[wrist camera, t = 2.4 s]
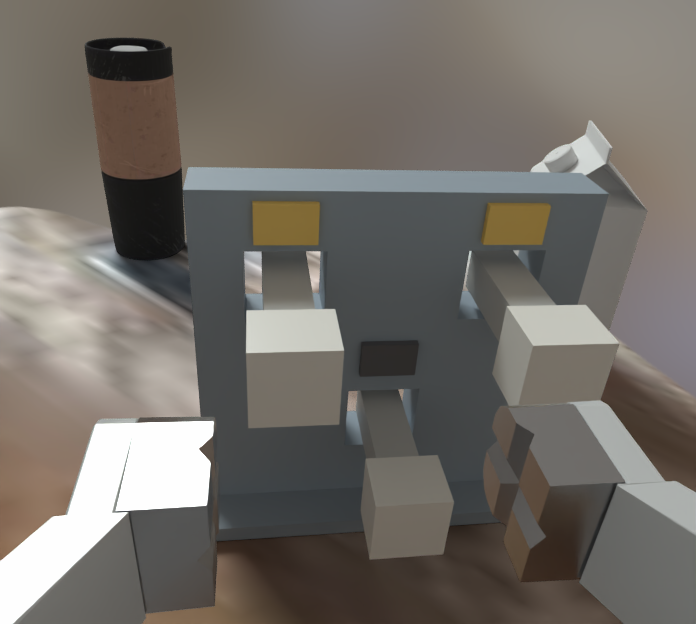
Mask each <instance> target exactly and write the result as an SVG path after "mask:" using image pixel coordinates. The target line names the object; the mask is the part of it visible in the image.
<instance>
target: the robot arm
mask: <svg viewBox="0 0 696 624" xmlns="http://www.w3.org/2000/svg"><path fill="white" fill-rule="evenodd" d="M492 429H493V431H494V433H495V435H496V438H497V441H496V442H495V443H494V444H493V445H492V446H491V447H490V448H489V449H488V450H487V451H486V456H485V461H484V467H483V478H484V490H485V494H486V498H487V502H488V505H489V507H490V510H491V512H492V515H493V516H494V517H495V518H496V519H498V520H499V521H500V522H502V523H503V524H504V525H506V526H507V529H506V533H505V536H504V540H503V542H504V545H505V547H506V550H507V552H508V554H509V557H510V559H511V562H512V564H513V566H514V569H515V571H516V574H517V576H518V578H519V581H520V582H538V581H558V580H578V579H580V582H579V583H580V584H581V585H582V586H584V587H585V588H586V589H587V590H588V591H589V592H590V593H591V594H592V595H593V596H594V597H595V598H596V599H598V600H599V601H600V602H601V603H602V604H603V605H604V606H605V607H606V608H607V609H608V610H609V611H610V612H612V613H613V614H614V615H615V616H616V617H617V618H618V619H619V620H620V621H621V622H622V623H623V624H696V492H694V491H692V490H691V489H689V488H687V487H685V486H684V485H682V484H680V483H678V482H677V481H665V480H664V479H663V477H662V476H661V475H660V473H659V472H658V471H657V469H656V468H655V467H654V465H653V464H652V463H651V461H650V460H649V459H648V457H647V456H646V455H645V453H644V452H643V451H642V449H641V448H640V447H639V445H638V444H637V443H636V441H635V440H634V439H633V437H632V436H631V435H630V433H629V432H628V431H627V429H626V428H625V427H624V425H623V424H622V423H621V421H620V420H619V419H618V417H617V416H616V415H615V413H614V412H613V411H612V409H611V408H610V406H609V405H607V404H606V403H604V402H602V401H601V400H598V401H581V402H567V403H566V404H565V403H557V404H534V405H512V406H500V407H499V409H498V410H497V412H496V414H495V417H494V421H493V425H492ZM216 457H217V428H216V419H215V417H152V418H139V419H136V418H127V419H99V421H98V422H97V423H96V424H95V425H94V427H93V429H92V433H91V436H90V439H89V442H88V445H87V448H86V452H85V455H84V458H83V461H82V464H81V467H80V471H79V474H78V477H77V480H76V483H75V486H74V490H73V493H72V496H71V499H70V502H69V505H68V509H67V512H66V515H65V516H53V517H51V518H50V519H49V520H48V521H47V522H46V523H44V524H43V525H42V526H41V527H40V528H39V529H37V530H36V531H35V532H34V533H33V534H32V535H30V536H29V537H28V538H27V539H26V540H25V541H23V542H22V543H21V544H20V545H19V546H18V547H16V548H15V549H14V550H13V551H12V552H11V553H9V554H8V555H7V556H6V557H5V558H4V559H2V560H1V561H0V624H142V623H143V621H144V620H145V618H146V615H145V614H146V613H155V612H165V611H174V610H184V609H193V608H203V607H212V606H215V593H216V576H217V545H216V536H217V534H218V533H219V519H220V475H219V463H218V462H217V461H216Z"/></svg>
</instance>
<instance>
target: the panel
mask: <svg viewBox="0 0 696 624" xmlns="http://www.w3.org/2000/svg"><path fill="white" fill-rule="evenodd" d="M183 195H184V196H183V197H184V208H185V222H186V235H187V247H188V260H189V273H190V286H191V298H192V311H193V324H194V336H195V349H196V362H197V375H198V387H199V400H200V413H201V417H215V419H216V428H217V457H216V461H217V462H218V463H219V475H220V519H219V533H218V534H217V536H216V541H227V540H243V539H258V538H273V537H288V536H303V535H318V534H333V533H348V532H363V531H364V526H363V521H362V516H361V500H362V490H363V480H364V470H365V460H366V456H365V451H364V446H363V442H362V437H361V432H360V428H359V423H358V418H357V414H356V411H347V403H348V391H363V390H392V389H404V393H403V401H402V403H403V407H404V410H405V413H406V416H407V419H408V423H409V426H410V429H411V432H412V435H413V438H414V442H415V445H416V448H417V451H418V454H419V456H427V455H438V457H439V460H440V463H441V466H442V469H443V472H444V474H445V477H446V480H447V483H448V486H449V489H450V492H451V495H452V497H453V500H454V505H453V510H452V515H451V519H450V524H449V526H453V525H468V524H483V523H498V522H500V521H499V520H498V519H496V518H495V517H494V516H493V515H492V512H491V510H490V507H489V505H488V502H487V498H486V494H485V490H484V478H483V467H484V461H485V456H486V451H487V450H488V449H489V448H490V447H491V446H492V445H493V444H494V443H495V442H496V441H497V438H496V435H495V433H494V431H493V429H492V425H493V421H494V417H495V414H496V412H497V410H498V409H499V407H500V406H509V405H508V403H507V401H506V399H505V397H504V395H503V393H502V391H501V390H500V388H499V386H498V384H497V382H496V380H495V378H494V376H493V374H492V372H493V368H494V363H495V358H496V354H497V349H498V345H499V342H498V340H497V338H496V337H495V335H494V333H493V332H492V330H491V328H490V326H489V325H488V323H487V321H486V320H485V318H484V316H483V315H482V313H481V311H480V309H479V308H478V306H477V304H476V303H475V301H474V299H473V298H472V296H471V294H470V292H469V291H462V290H463V284H464V278H465V272H466V267H467V261H468V255H469V251H495V250H519V254H518V258H519V259H520V260H521V261H522V263H523V264H524V265H525V266H526V268H527V269H528V270H529V271H530V273H531V274H532V275H533V277H534V278H535V279H536V280H537V282H538V283H539V284H540V285H541V287H542V288H543V289H544V290H545V292H546V293H547V294H548V295H549V297H550V298H551V299H552V301H553V302H554V303H555V304H556V305H578V301H579V298H580V294H581V291H582V287H583V284H584V280H585V276H586V273H587V269H588V266H589V262H590V259H591V255H592V252H593V248H594V245H595V241H596V238H597V234H598V231H599V227H600V224H601V220H602V217H603V213H604V210H605V206H606V203H607V199H608V196H609V193H607V192H606V191H605V190H603V189H602V188H601V187H599V186H598V185H597V184H596V183H594V182H593V181H592V180H590V179H589V178H588V177H586V176H585V175H584V174H582V173H553V172H483V171H481V172H479V171H413V170H345V169H342V170H341V169H275V168H270V169H269V168H204V167H203V168H202V167H189V168H188V172H187V176H186V180H185V184H184V188H183ZM244 251H321V258H320V282H319V293H313V299H314V305H315V309H335V311H336V315H337V320H338V325H339V329H340V334H341V338H342V343H343V348H344V360H343V375H342V390H341V405H340V420H339V425H316V426H292V427H268V428H248V402H247V368H246V312H247V310H263V300H262V294H245V269H244Z"/></svg>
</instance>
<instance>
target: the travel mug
mask: <svg viewBox="0 0 696 624" xmlns="http://www.w3.org/2000/svg"><path fill="white" fill-rule="evenodd" d="M171 53H172V49H171V47H167V48H166V47H165V45H164V43H162V42H161V41H158V40H152V39H143V38H105V39H97V40H92V41H89V42H87V43H85V54H86V61H87V68H88V76H89V83H90V90H91V98H92V105H93V112H94V120H95V128H96V135H97V142H98V150H99V157H100V165H101V170H102V177H103V183H104V188H105V194H106V199H107V205H108V210H109V216H110V222H111V227H112V233H113V238H114V243H115V247H116V250H117V251H118V253H119V254H121V255H123V256H125V257H128V258H132V259H138V260H153V259H161V258H165V257H169V256H171V255H174V254H176V253H178V252H179V251H180V250H181V249H182V248H183V247H184V244H185V236H184V213H183V212H184V211H183V190H182V169H181V155H180V144H179V133H178V122H177V112H176V99H175V88H174V77H173V65H172V54H171Z"/></svg>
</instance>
